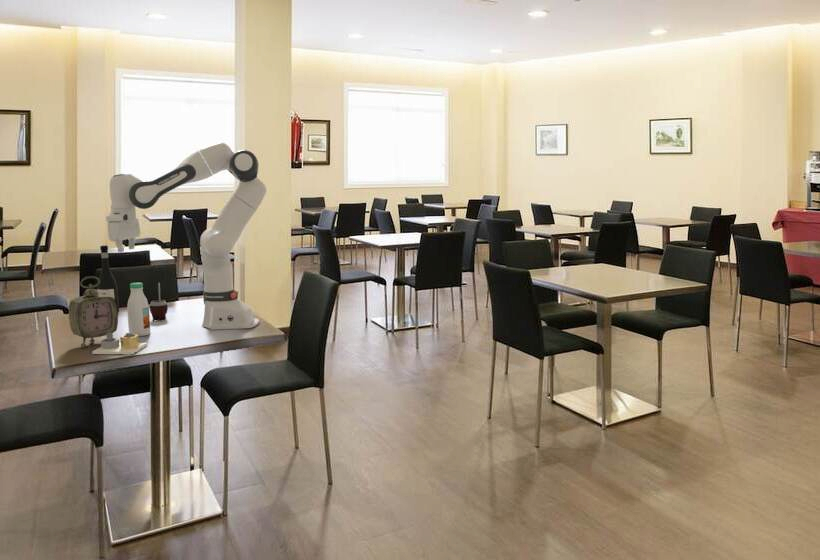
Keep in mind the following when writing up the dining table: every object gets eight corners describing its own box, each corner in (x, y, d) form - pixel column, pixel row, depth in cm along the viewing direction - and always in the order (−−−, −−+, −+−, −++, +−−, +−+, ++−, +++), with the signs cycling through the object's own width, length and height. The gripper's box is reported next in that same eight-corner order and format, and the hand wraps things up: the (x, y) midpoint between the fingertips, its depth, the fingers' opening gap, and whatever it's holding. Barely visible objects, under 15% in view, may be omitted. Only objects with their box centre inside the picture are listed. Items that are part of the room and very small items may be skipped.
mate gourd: (156, 322, 290) (154, 286, 287) (146, 319, 294) (143, 284, 292) (172, 319, 296) (170, 284, 293) (161, 316, 300) (159, 282, 298)
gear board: (147, 346, 252) (145, 329, 251) (132, 355, 240) (131, 337, 239) (109, 345, 253) (107, 329, 252) (92, 354, 241) (91, 337, 240)
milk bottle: (137, 337, 264) (134, 285, 261) (124, 335, 268) (120, 283, 265) (155, 333, 270) (151, 282, 267) (142, 331, 275) (138, 280, 271)
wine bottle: (114, 315, 303) (109, 246, 298) (96, 315, 303) (90, 246, 298) (122, 311, 311) (117, 244, 306) (104, 311, 311) (99, 244, 306)
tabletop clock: (80, 350, 247) (74, 280, 243) (69, 345, 253) (63, 277, 249) (120, 342, 258) (114, 275, 254) (108, 338, 264) (103, 272, 260)
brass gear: (125, 345, 249) (125, 334, 248) (140, 345, 249) (140, 334, 248) (119, 349, 244) (118, 337, 243) (134, 349, 243) (133, 337, 243)
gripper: (127, 213, 283) (130, 247, 286) (103, 217, 263) (106, 253, 265) (142, 213, 283) (145, 247, 285) (120, 217, 263) (122, 253, 265)
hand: (126, 250), depth 275 cm, fingers open, 8 cm apart
